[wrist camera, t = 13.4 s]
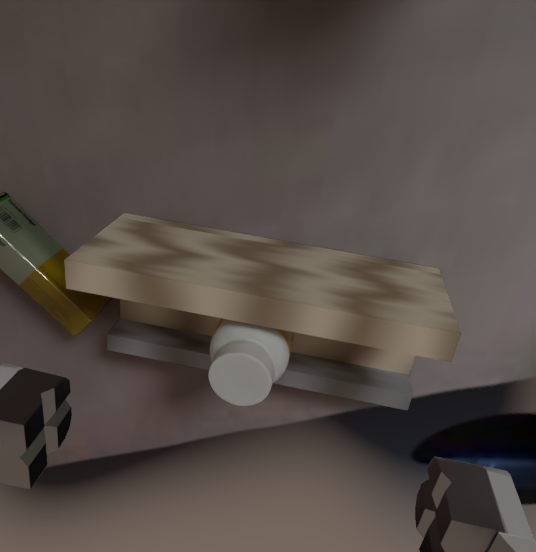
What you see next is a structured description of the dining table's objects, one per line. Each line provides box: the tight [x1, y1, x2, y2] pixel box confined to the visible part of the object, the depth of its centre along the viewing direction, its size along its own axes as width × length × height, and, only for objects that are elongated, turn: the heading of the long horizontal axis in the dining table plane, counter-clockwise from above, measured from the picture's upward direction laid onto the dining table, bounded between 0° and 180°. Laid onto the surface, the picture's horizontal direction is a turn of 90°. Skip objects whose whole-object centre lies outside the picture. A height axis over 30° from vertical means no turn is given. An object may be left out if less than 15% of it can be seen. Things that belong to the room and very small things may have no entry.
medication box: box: [0, 192, 112, 335], centre depth 40 cm, size 12×3×4 cm, turn 41°
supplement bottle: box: [208, 318, 295, 406], centre depth 35 cm, size 5×5×10 cm
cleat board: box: [64, 213, 461, 410], centre depth 36 cm, size 24×11×9 cm, turn 82°
